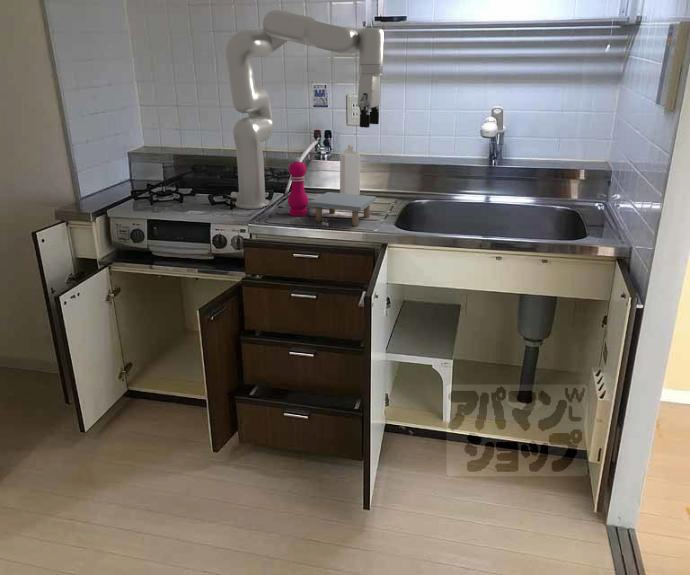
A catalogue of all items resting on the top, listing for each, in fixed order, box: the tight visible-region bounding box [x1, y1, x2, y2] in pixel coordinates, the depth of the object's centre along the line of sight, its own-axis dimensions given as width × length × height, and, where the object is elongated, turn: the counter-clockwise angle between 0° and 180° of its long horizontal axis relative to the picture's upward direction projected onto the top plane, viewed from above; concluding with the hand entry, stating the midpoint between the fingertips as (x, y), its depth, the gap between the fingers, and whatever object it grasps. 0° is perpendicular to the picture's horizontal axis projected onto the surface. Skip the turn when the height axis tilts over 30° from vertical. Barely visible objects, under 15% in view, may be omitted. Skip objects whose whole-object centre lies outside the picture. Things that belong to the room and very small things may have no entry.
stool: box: [309, 191, 377, 227], centre depth 206 cm, size 18×16×7 cm
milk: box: [339, 143, 361, 195], centre depth 222 cm, size 6×6×22 cm
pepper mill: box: [287, 156, 309, 217], centre depth 209 cm, size 7×7×20 cm
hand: (369, 125), depth 198 cm, fingers open, 9 cm apart
